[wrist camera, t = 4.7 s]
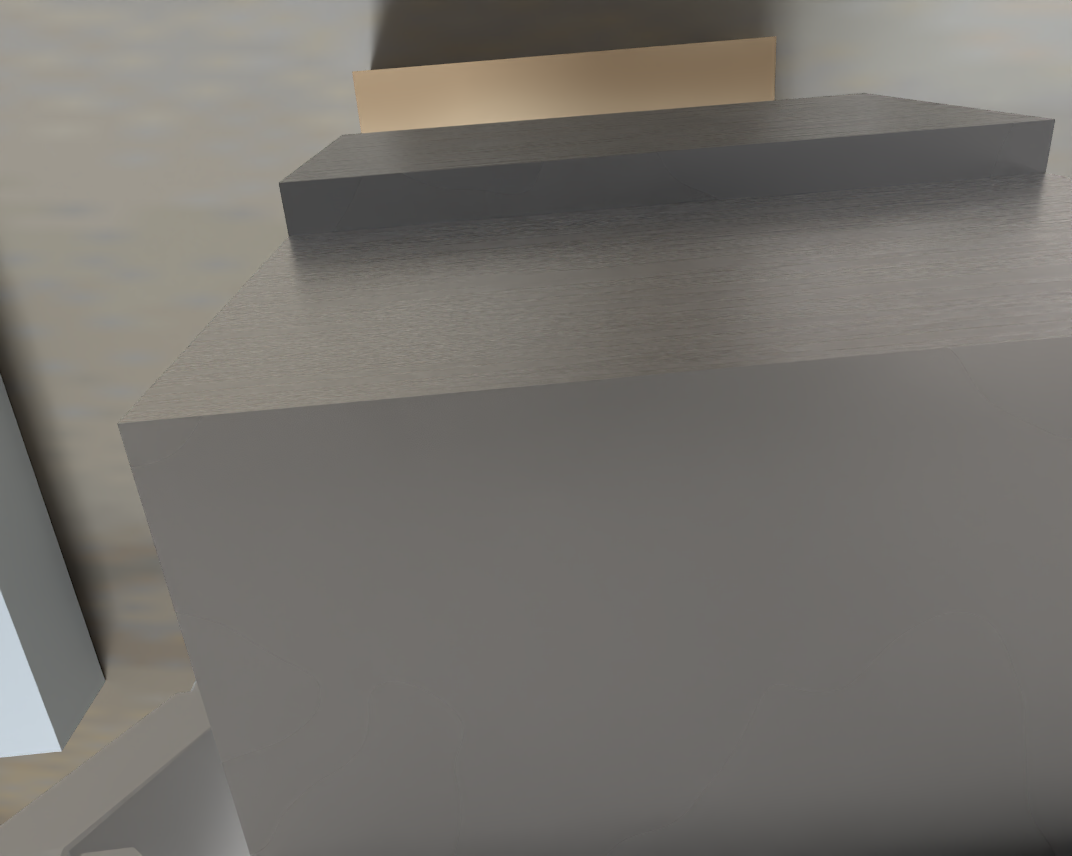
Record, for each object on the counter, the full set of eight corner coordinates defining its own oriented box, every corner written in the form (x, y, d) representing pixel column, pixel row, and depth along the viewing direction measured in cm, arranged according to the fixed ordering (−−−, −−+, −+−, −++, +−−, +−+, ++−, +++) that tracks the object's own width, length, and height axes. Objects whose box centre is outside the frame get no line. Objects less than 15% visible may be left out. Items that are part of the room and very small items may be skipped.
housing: (341, 134, 10) (85, 326, 3) (863, 93, 10) (1603, 193, 3) (444, 779, 14) (423, 1414, 7) (806, 740, 14) (1088, 1326, 8)
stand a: (369, 72, 20) (352, 71, 18) (736, 42, 21) (776, 36, 18) (436, 538, 25) (430, 594, 23) (730, 509, 26) (760, 561, 23)
